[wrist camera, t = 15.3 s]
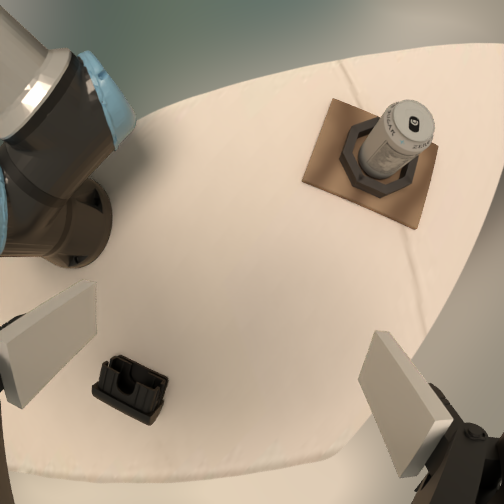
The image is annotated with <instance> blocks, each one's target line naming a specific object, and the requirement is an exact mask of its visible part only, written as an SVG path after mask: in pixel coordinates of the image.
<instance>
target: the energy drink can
mask: <svg viewBox="0 0 504 504" xmlns="http://www.w3.org/2000/svg"><path fill="white" fill-rule="evenodd" d="M434 130H435V123H434V119H433V117H432V115H431V113H430V111H429V110H428V109H427V108H426V107H425V106H424V105H422V104H421V103H419V102H417V101H414V100H403V101H401V102H396V103H393V104H391V105H390V106H389V107H388V108H387V109H386V111H385V112H384V113H383V115H382V116H381V118H380V119H379V121H378V122H377V124H376V125H375V127H374V128H373V130H372V131H371V132H370V134H369V135H368V137H367V138H366V140H365V141H364V143H363V144H362V146H361V147H360V149H359V153H358V159H359V163H360V165H361V167H362V169H363V170H364V171H365V172H366V173H367V174H368V175H369V176H371V177H373V178H376V179H386V178H388V177H390V176H392V175H393V174H394V173H396V172H397V171H398V170H399V169H401V168H402V167H403V166H405V165H406V164H407V163H408V162H410V161H411V160H412V159H414V158H415V157H416V156H417V155H419V154H420V153H421V152H423V151H424V150H425V149H426V148H428V147H429V145H430V144H431V142H432V139H433V133H434Z"/></svg>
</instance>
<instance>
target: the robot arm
mask: <svg viewBox="0 0 504 504" xmlns="http://www.w3.org/2000/svg"><path fill="white" fill-rule="evenodd" d="M135 125H136V115H135V112H134V110H133V109H132V107H131V105H130V104H129V102H128V101H127V99H126V98H125V96H124V95H123V93H122V92H121V90H120V89H119V88H118V86H117V85H116V84H115V82H114V81H113V79H111V77H110V76H109V75H108V74H107V72H106V70H105V69H104V68H103V66H102V64H101V63H100V62H99V61H98V59H97V58H96V57H95V56H94V55H93V53H91V52H90V51H85V52H83V53H80V54H79V55H78V56H77V57H76V56H75V55H74V54H73V53H72V52H71V51H70V50H69V49H68V48H60V49H52V50H48V49H47V48H46V47H45V46H43V45H42V44H41V43H40V42H39V41H38V40H37V39H36V38H35V37H34V36H33V35H32V34H31V33H30V32H28V31H27V30H26V29H25V28H24V27H23V26H22V25H21V24H20V23H19V22H18V21H17V20H16V19H15V18H13V17H12V16H11V15H10V14H9V13H8V12H7V11H6V10H5V9H4V8H3V7H2V6H1V5H0V139H2V140H3V141H4V143H3V144H2V145H1V147H0V257H42V258H44V259H46V260H48V261H49V262H51V263H53V264H55V265H57V266H59V267H63V268H79V267H83V266H86V265H88V264H90V263H91V262H92V261H94V260H95V259H96V258H97V257H98V256H99V255H100V253H101V252H102V251H103V249H104V247H105V245H106V243H107V241H108V238H109V235H110V231H111V226H112V210H111V205H110V201H109V198H108V196H107V194H106V192H105V191H104V189H103V188H102V187H101V186H100V185H99V184H98V183H97V182H95V181H94V180H91V179H89V178H88V177H89V176H90V175H91V174H92V173H93V171H94V170H95V169H96V168H97V167H98V166H99V165H100V164H101V163H102V162H103V161H104V160H105V159H106V158H107V157H108V155H109V154H110V153H111V152H112V151H113V150H114V151H116V150H117V149H118V146H119V144H120V143H121V142H122V141H123V140H124V139H125V138H126V137H127V136H128V135H129V134H130V133H131V132H132V131H133V129H134V128H135ZM96 334H97V324H96V282H92V281H88V280H84V279H82V280H81V281H79V282H77V283H76V284H74V285H72V286H71V287H69V288H67V289H66V290H64V291H62V292H61V293H59V294H57V295H56V296H54V297H52V298H51V299H49V300H48V301H46V302H44V303H43V304H41V305H39V306H38V307H36V308H35V309H33V310H31V311H30V312H28V313H26V314H23V315H19V316H16V317H14V318H13V319H11V320H10V321H8V323H5V324H3V325H2V327H1V326H0V392H1V391H2V390H3V389H4V391H5V395H6V398H7V401H8V402H9V403H11V404H13V405H15V406H17V407H19V408H21V409H23V408H24V407H25V406H26V405H27V404H28V403H29V402H30V401H31V400H32V399H33V398H34V397H35V396H36V395H37V394H38V393H39V391H40V390H41V389H42V388H43V387H44V386H45V385H46V384H47V383H48V382H49V381H50V380H51V379H52V378H53V377H54V376H55V375H56V374H57V373H58V372H59V371H60V370H61V369H62V368H63V367H64V366H65V365H66V364H67V363H68V362H69V361H70V360H71V359H72V358H73V357H74V356H75V355H76V354H77V353H78V352H79V351H80V350H81V349H82V348H83V347H84V346H85V345H86V344H87V343H88V342H89V341H90V340H91V339H92V338H93V337H94V336H95V335H96ZM358 381H359V383H360V385H361V388H362V390H363V392H364V395H365V397H366V399H367V401H368V404H369V406H370V408H371V411H372V413H373V415H374V418H375V420H376V423H377V425H378V427H379V430H380V432H381V434H382V437H383V439H384V442H385V444H386V447H387V449H388V452H389V454H390V456H391V459H392V462H393V464H394V467H395V469H396V472H397V474H398V477H399V478H404V477H413V476H417V475H418V474H419V472H420V471H421V469H422V468H423V467H424V465H425V466H426V468H427V469H428V474H427V475H426V476H425V477H424V479H423V480H422V481H421V483H420V484H419V485H418V487H417V488H416V489H415V490H414V491H415V492H417V493H416V495H415V497H414V499H413V501H412V503H411V504H504V433H503V434H502V436H501V437H500V438H493V437H488V435H487V433H486V431H485V430H484V429H482V428H481V427H480V426H478V425H476V424H473V423H464V422H463V420H462V419H461V418H460V416H459V415H458V414H457V412H456V411H455V409H454V408H453V407H452V405H450V403H449V401H448V400H447V399H445V396H444V395H443V393H442V392H441V391H440V390H439V389H438V388H437V387H436V386H434V385H433V384H431V383H427V381H426V380H425V379H424V377H423V376H422V374H421V373H420V372H419V370H418V369H417V368H416V367H415V365H414V364H413V362H412V361H411V360H410V358H409V357H408V356H407V354H406V353H405V352H404V351H403V349H402V348H401V347H400V345H399V344H398V343H397V341H396V340H395V339H394V338H393V336H392V335H391V334H390V332H386V331H376V330H375V331H374V334H373V338H372V341H371V344H370V347H369V350H368V353H367V355H366V358H365V361H364V364H363V367H362V369H361V372H360V375H359V378H358ZM501 482H502V483H501ZM500 483H501V486H500ZM0 504H15V503H14V499H13V494H12V490H11V485H10V479H9V474H8V468H7V462H6V455H5V448H4V439H3V429H2V417H1V401H0Z"/></svg>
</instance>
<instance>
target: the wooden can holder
mask: <svg viewBox="0 0 504 504" xmlns="http://www.w3.org/2000/svg"><path fill="white" fill-rule="evenodd" d="M379 119H380V117H378V116H376V115H373V114H371V113H369V112H366V111H364V110H362V109H359V108H357V107H354V106H352V105H349V104H347V103H344V102H342V101H339V100H336V99H334V98H333V99H332V102H331V105H330V107H329V110H328V113H327V116H326V118H325V121H324V124H323V126H322V129H321V132H320V134H319V137H318V140H317V142H316V145H315V148H314V150H313V153H312V156H311V158H310V161H309V164H308V166H307V169H306V172H305V174H304V177H303V179H302V182H304V183H307V184H309V185H312V186H314V187H317V188H319V189H322V190H324V191H327V192H329V193H332V194H334V195H337V196H339V197H342V198H344V199H346V200H349V201H351V202H354V203H356V204H358V205H361V206H363V207H365V208H368V209H370V210H372V211H374V212H377V213H379V214H381V215H383V216H386V217H388V218H390V219H392V220H394V221H397V222H399V223H401V224H403V225H405V226H407V227H410V228H412V229H417V227H418V224H419V221H420V217H421V214H422V211H423V207H424V203H425V200H426V196H427V192H428V189H429V185H430V181H431V177H432V173H433V168H434V164H435V160H436V155H437V151H438V145H436V144H434V143H432V142H431V144H430V145H429V147H428V148H426V149H425V150H424V151H423V152H421V153H420V154H419V155H417V156H416V157H415V158H414V159H412V160H411V161H410V162H408V163H407V164H406V165H405V166H403V167H402V168H401V169H399V170H398V171H397V172H396V173H394V174H393V175H392V176H390V177H388V178H386V179H376V178H373V177H371V176H369V175H368V174H367V173H366V172H365V171H364V170H363V169H362V167H361V165H360V163H359V159H358V153H359V149H360V147H361V146H362V144H363V143H364V141H365V140H366V138H367V137H368V135H369V134H370V132H371V131H372V130H373V128H374V127H375V125H376V124H377V122H378V121H379Z"/></svg>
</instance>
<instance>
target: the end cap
mask: <svg viewBox="0 0 504 504" xmlns="http://www.w3.org/2000/svg"><path fill="white" fill-rule="evenodd" d="M108 363H109V362H108V361H105V362H103V363H102V368H101V372H100V377H99V382H97V383H95V384H94V385H92V394H93V396H94V397H96V398H97V399H99V400H101V401H102V402H104V403H106V404H108V405H110V406H111V407H113V408H115V409H117V410H119V411H121V412H123V413H124V414H126V415H128V416H130V417H132V418H134V419H136V420H138V421H140V422H142V423H144V424H146V425H148V426H150V425H152V424H153V423H154V421H155V420H156V418H157V417H158V415H159V413H160V411H161V408H162V406H163V403H164V401H163V400H162V399H163V396H164V393H165V390H166V387H167V384H168V378H167V377H166V376H164V375H162V374H160V373H158V372H155V371H153V370H151V369H149V368H147V367H145V366H143V365H141V364H139V363H137V362H135V361H133V360H131V359H129V358H127V357H125V356H123V355H119V356H118V357H117V356H114V357H112V358H111V359H110V363H109V367H108Z"/></svg>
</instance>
